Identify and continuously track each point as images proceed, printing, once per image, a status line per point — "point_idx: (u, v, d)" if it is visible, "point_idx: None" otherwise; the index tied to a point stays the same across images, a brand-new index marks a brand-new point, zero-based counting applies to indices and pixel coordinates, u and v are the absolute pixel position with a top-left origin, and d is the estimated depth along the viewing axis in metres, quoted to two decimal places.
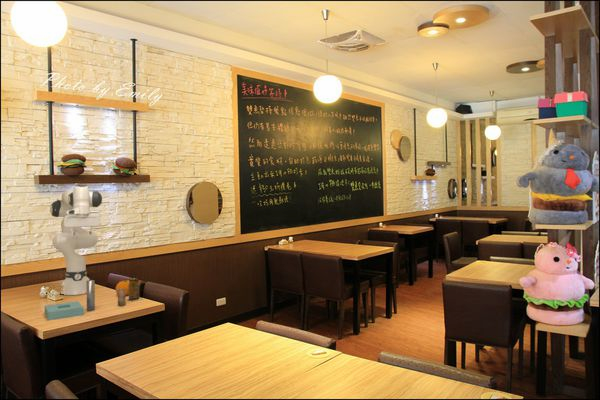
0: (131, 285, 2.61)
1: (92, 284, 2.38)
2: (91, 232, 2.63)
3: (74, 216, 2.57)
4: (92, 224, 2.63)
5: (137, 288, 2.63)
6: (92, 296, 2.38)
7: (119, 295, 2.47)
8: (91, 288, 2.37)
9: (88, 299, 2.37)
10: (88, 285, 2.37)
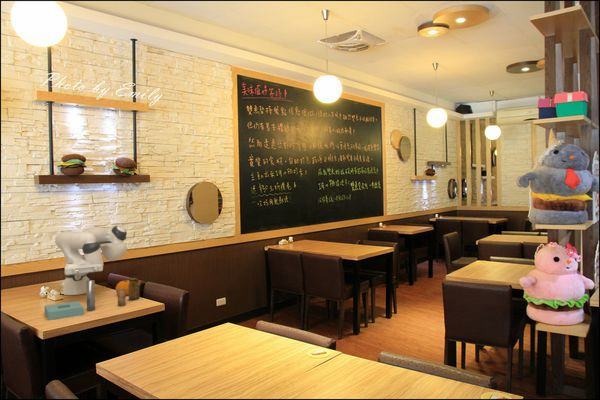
0: (131, 285, 2.61)
1: (92, 284, 2.38)
2: (95, 268, 2.53)
3: (74, 265, 2.56)
4: (94, 265, 2.57)
5: (137, 288, 2.63)
6: (92, 296, 2.38)
7: (119, 295, 2.47)
8: (91, 288, 2.37)
9: (88, 299, 2.37)
10: (88, 285, 2.37)
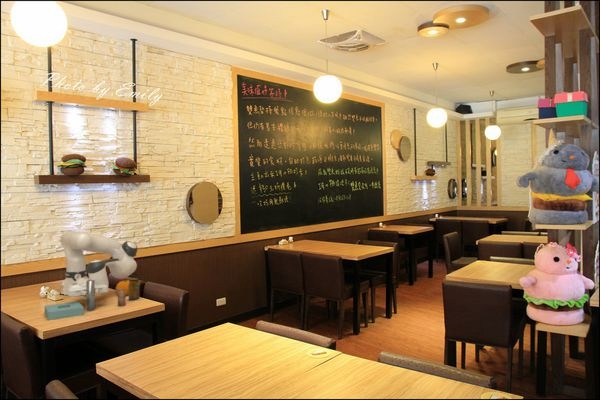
0: (131, 285, 2.61)
1: (92, 284, 2.38)
2: (96, 290, 2.41)
3: (78, 286, 2.45)
4: (99, 286, 2.46)
5: (137, 288, 2.63)
6: (92, 296, 2.38)
7: (119, 295, 2.47)
8: (91, 288, 2.37)
9: (88, 299, 2.37)
10: (88, 285, 2.37)
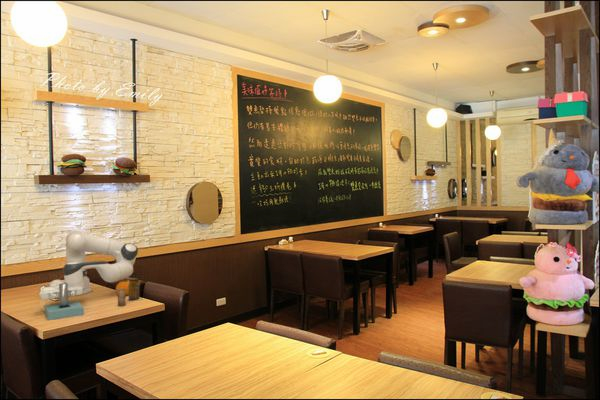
0: (131, 285, 2.61)
1: (65, 287, 2.30)
2: (72, 292, 2.34)
3: (51, 288, 2.37)
4: (73, 288, 2.39)
5: (137, 288, 2.63)
6: (65, 300, 2.30)
7: (119, 295, 2.47)
8: (64, 291, 2.30)
9: (61, 303, 2.29)
10: (61, 288, 2.29)
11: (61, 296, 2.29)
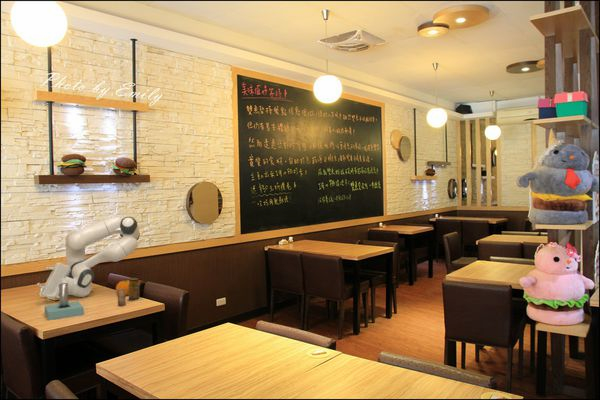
0: (131, 285, 2.61)
1: (65, 287, 2.30)
2: None
3: None
4: None
5: (137, 288, 2.63)
6: (65, 300, 2.30)
7: (119, 295, 2.47)
8: (64, 291, 2.30)
9: (61, 303, 2.29)
10: (61, 288, 2.29)
11: (61, 296, 2.29)
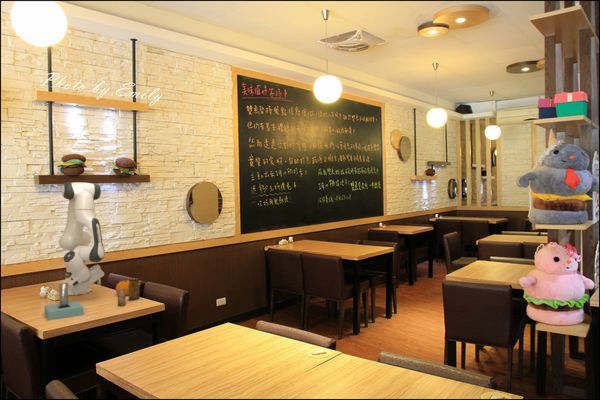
0: (131, 285, 2.61)
1: (65, 287, 2.30)
2: (99, 283, 2.70)
3: (79, 283, 2.58)
4: (97, 278, 2.67)
5: (137, 288, 2.63)
6: (65, 300, 2.30)
7: (119, 295, 2.47)
8: (64, 291, 2.30)
9: (61, 303, 2.29)
10: (61, 288, 2.29)
11: (61, 296, 2.29)
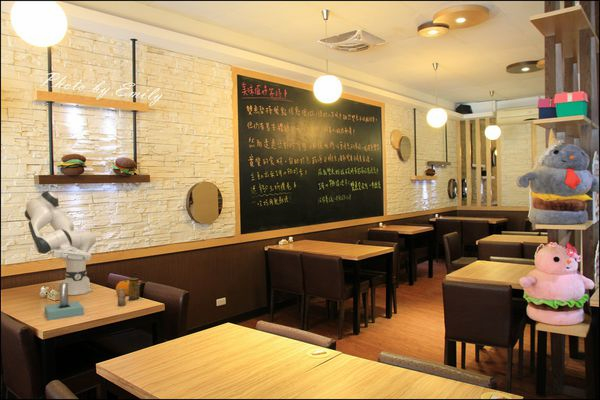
0: (131, 285, 2.61)
1: (65, 287, 2.30)
2: (65, 257, 2.44)
3: None
4: (61, 257, 2.47)
5: (137, 288, 2.63)
6: (65, 300, 2.30)
7: (119, 295, 2.47)
8: (64, 291, 2.30)
9: (61, 303, 2.29)
10: (61, 288, 2.29)
11: (61, 296, 2.29)
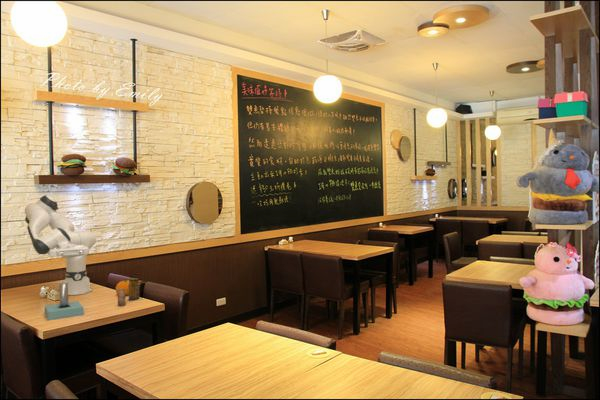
0: (131, 285, 2.61)
1: (65, 287, 2.30)
2: None
3: (76, 254, 2.56)
4: None
5: (137, 288, 2.63)
6: (65, 300, 2.30)
7: (119, 295, 2.47)
8: (64, 291, 2.30)
9: (61, 303, 2.30)
10: (61, 288, 2.29)
11: (61, 296, 2.29)
